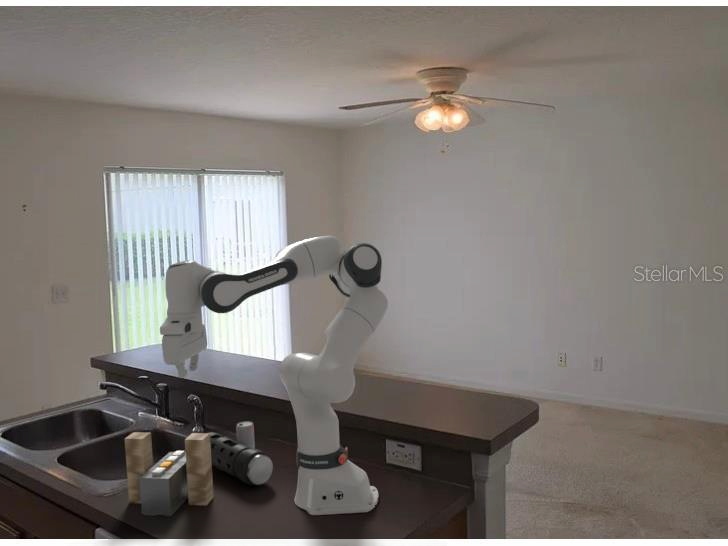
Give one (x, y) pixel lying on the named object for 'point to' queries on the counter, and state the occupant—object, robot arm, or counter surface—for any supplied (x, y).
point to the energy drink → (246, 433)
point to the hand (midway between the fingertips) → (188, 373)
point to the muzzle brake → (240, 460)
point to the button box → (165, 485)
